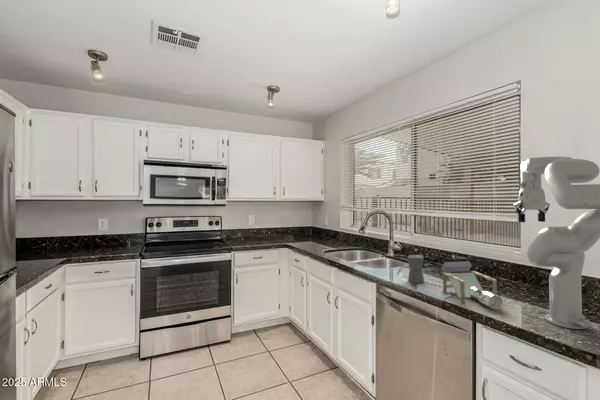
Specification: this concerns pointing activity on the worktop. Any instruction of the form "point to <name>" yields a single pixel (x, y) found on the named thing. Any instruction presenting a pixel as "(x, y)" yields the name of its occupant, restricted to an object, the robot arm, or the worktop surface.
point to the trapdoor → (461, 276)
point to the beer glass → (486, 298)
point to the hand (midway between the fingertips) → (531, 221)
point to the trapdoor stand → (494, 283)
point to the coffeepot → (416, 268)
